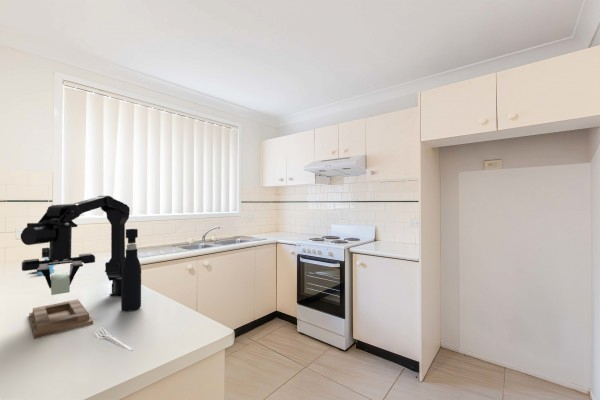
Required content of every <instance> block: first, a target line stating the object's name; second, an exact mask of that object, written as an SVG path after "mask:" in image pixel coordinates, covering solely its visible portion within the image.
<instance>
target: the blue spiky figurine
mask: <svg viewBox="0 0 600 400" xmlns="http://www.w3.org/2000/svg"><path fill="white" fill-rule="evenodd" d="M44 260H49V259H48V257H46V258H44V259H43V260H42V261H44ZM55 266H56V265H48V268H49V270H50V275H52V273H54V274H55V269H54V267H55ZM37 273H38V276H44V275H43V273H42V272H37Z"/></svg>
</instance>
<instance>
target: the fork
mask: <svg viewBox="0 0 600 400" xmlns="http://www.w3.org/2000/svg"><path fill="white" fill-rule="evenodd" d="M101 328H102V329H101ZM93 333H94V336H95V337H96V338H97V337H98V339H99V340H104V339H105V340H108V341H111V342H112V343H113V344H115V343H116V345H117V344H118V346H119V347H122V348H124V349H126V350H128V351H129V352H131V351H132V352H133V350H134V349H133V348H131V347H130V346H128V345H126V344H125V343H124V342H121V341H120V340H118V339H117V338H116V337H114V336H112V334H111V333H110V332H109V331H107V330H106V328H105V327H104V326H102V325H101V327H100V326H99V327H96V328H93ZM109 334H110V335H109ZM105 335H106V336H105ZM102 336H105V337H102ZM99 337H100V338H99Z"/></svg>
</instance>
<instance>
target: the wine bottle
mask: <svg viewBox="0 0 600 400" xmlns="http://www.w3.org/2000/svg"><path fill="white" fill-rule="evenodd" d="M138 230H139V229H138V228H125V239H127V245H126V249H125V257H126V258H125V260H124V263H123V267H122V274H121V297H120V298H121V300H120V304H121V305H120V307H121V308H120V309H121V312H123V313H124V312H132V311H133V312H134V311H137V310H139V309H141V308H142V267H141V263H140V259H139V257H138V249H137V246H138V245H137V243H136V241H137V240H136V238H138ZM140 307H141V308H140Z"/></svg>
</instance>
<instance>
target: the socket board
mask: <svg viewBox="0 0 600 400" xmlns="http://www.w3.org/2000/svg"><path fill="white" fill-rule="evenodd" d="M28 314H29V320H30V326H31V329H32V335H33V339H39V338H43V337H47V336H51V335H55V334H60V333H62V332H66V331H70V330H75V329H79V328H84V327H86V326H90V325H94V320H93V319H92V317H91V315H90V313H89V311H88V310H87V309H86V308H85V306H84V305H83V304H82V302H81V301H80V299H73V300H67V301H63V302H57V303H51V304H48V305H41V306H38V307H33V308H32V312H29V313H28Z"/></svg>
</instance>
